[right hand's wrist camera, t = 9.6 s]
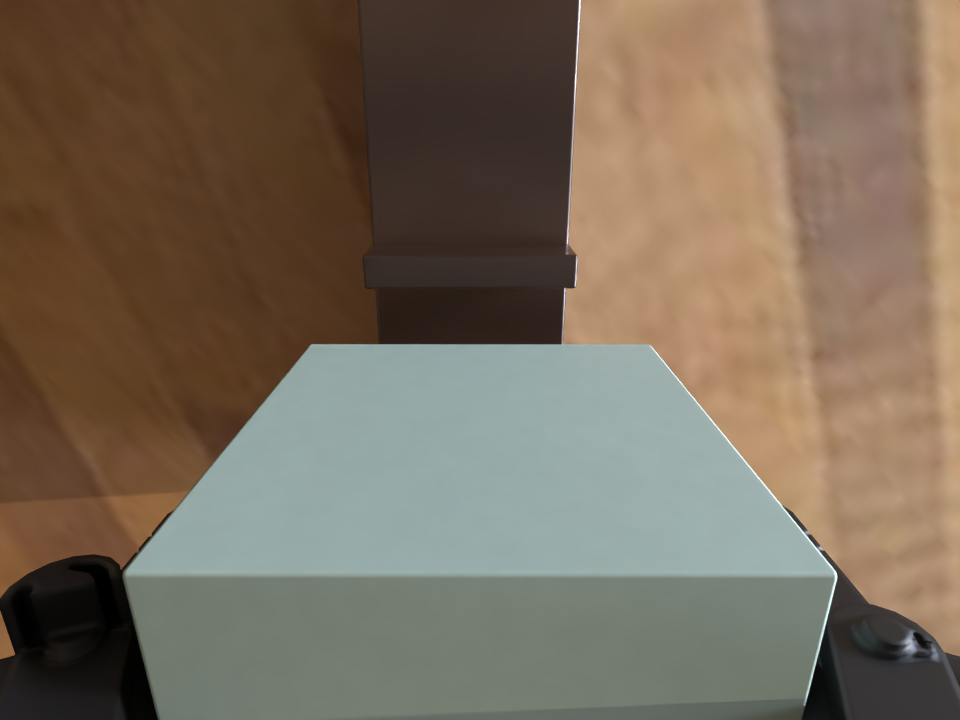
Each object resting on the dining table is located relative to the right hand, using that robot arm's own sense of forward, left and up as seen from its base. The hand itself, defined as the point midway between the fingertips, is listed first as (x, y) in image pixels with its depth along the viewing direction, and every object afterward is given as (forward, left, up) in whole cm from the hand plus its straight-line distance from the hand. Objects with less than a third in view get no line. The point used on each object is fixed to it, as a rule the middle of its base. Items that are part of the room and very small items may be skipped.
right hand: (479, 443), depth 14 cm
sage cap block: (0, 0, +1) cm, 1 cm away
